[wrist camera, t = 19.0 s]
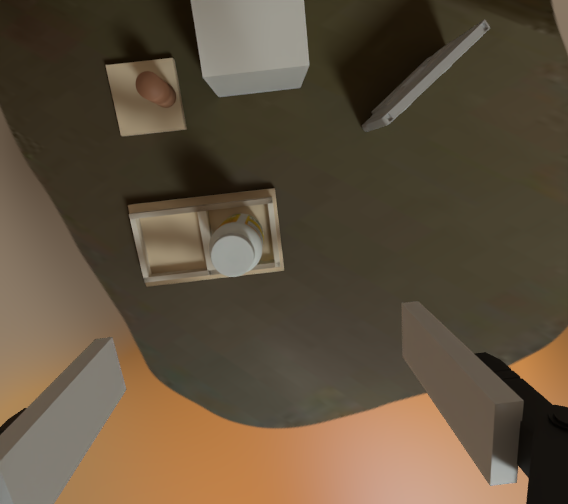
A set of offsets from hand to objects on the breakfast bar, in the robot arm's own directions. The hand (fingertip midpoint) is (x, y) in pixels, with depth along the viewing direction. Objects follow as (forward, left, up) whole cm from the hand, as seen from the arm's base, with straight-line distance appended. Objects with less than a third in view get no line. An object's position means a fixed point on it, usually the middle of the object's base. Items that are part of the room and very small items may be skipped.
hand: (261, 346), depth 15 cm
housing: (-20, +1, -27) cm, 33 cm away
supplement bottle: (0, -3, -26) cm, 26 cm away
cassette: (-14, +17, -27) cm, 35 cm away
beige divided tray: (0, -7, -27) cm, 28 cm away
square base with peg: (-16, -11, -27) cm, 33 cm away
